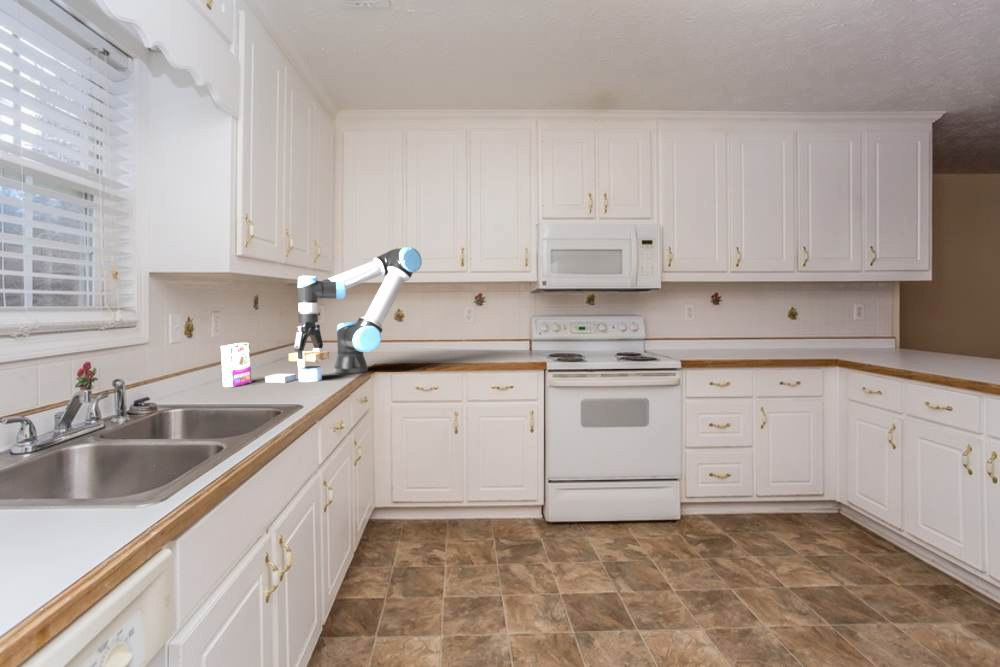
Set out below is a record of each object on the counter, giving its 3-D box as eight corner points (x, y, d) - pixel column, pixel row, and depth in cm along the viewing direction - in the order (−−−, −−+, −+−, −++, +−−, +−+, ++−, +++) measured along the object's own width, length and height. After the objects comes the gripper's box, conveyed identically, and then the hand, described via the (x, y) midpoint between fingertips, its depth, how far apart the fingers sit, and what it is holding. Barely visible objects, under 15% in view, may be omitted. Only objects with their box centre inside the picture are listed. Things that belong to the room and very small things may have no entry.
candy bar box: (240, 382, 207) (239, 342, 206) (251, 382, 206) (250, 343, 205) (221, 387, 196) (219, 345, 195) (233, 387, 195) (231, 345, 194)
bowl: (306, 378, 217) (306, 365, 216) (324, 378, 215) (324, 366, 215) (295, 381, 208) (294, 368, 208) (314, 382, 207) (313, 368, 207)
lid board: (303, 358, 218) (303, 351, 217) (329, 358, 216) (329, 351, 215) (288, 361, 207) (288, 353, 207) (315, 361, 205) (315, 354, 205)
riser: (277, 379, 215) (276, 373, 214) (296, 379, 213) (296, 374, 213) (265, 382, 207) (264, 376, 207) (285, 382, 205) (284, 376, 205)
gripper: (314, 312, 222) (316, 361, 224) (283, 313, 199) (284, 368, 200) (330, 312, 221) (331, 362, 222) (300, 313, 198) (301, 369, 199)
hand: (309, 365), depth 211 cm, fingers closed on lid board, 11 cm apart
